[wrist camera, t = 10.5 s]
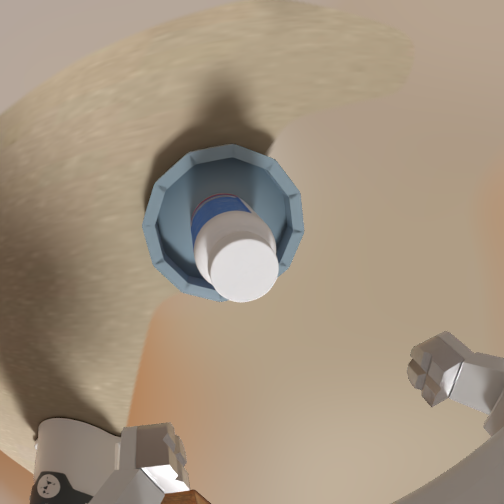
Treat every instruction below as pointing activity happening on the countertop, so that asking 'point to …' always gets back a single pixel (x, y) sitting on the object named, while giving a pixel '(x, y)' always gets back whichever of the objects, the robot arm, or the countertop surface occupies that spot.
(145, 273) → the countertop surface
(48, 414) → the countertop surface
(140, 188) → the countertop surface
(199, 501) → the wooden box
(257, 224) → the pill bottle
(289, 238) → the dish
